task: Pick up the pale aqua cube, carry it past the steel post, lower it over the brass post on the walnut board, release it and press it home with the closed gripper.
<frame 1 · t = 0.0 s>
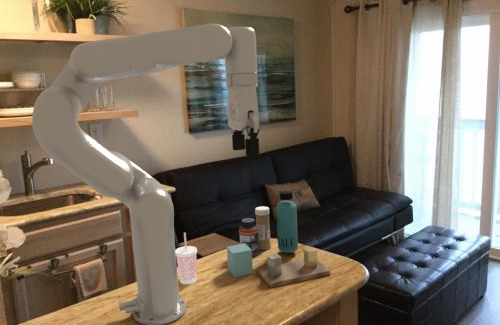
hand: (245, 152, 108), 37 cm above the counter, tool pointing down, fingers open, 9 cm apart
supplement bottle: (249, 254, 140), on the counter
beverage bottle: (288, 253, 139), on the counter
beverage cup: (188, 281, 123), on the counter
post board: (293, 273, 124), on the counter
sprinkles bottle: (263, 248, 145), on the counter
brass post: (310, 269, 126), resting on post board
pale aqua cube: (240, 271, 127), on the counter
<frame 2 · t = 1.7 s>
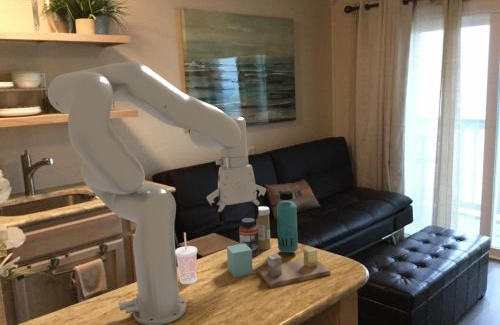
hand: (238, 220, 125), 15 cm above the counter, tool pointing down, fingers open, 9 cm apart
nothing on the counter moved.
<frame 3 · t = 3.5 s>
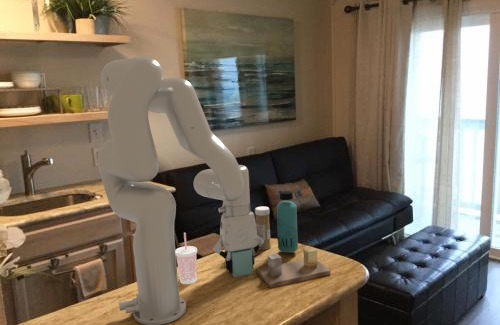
hand: (240, 269, 127), 1 cm above the counter, tool pointing down, fingers closed on pale aqua cube, 5 cm apart
pale aqua cube: (240, 271, 127), on the counter, touching gripper
everything else where it was.
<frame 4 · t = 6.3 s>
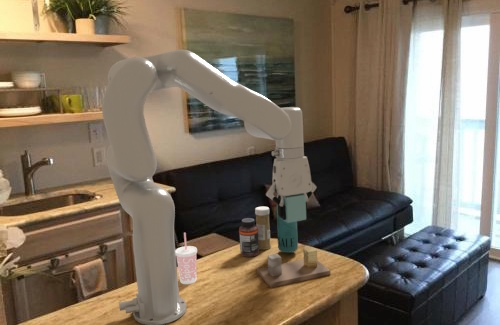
hand: (292, 216, 124), 16 cm above the counter, tool pointing down, fingers closed on pale aqua cube, 5 cm apart
pale aqua cube: (292, 218, 124), point 15 cm above the counter, touching gripper
everything else where it was.
when the fingers open (3 cm above the counter, at t = 9.4 s): pale aqua cube stays where it is, resting on post board.
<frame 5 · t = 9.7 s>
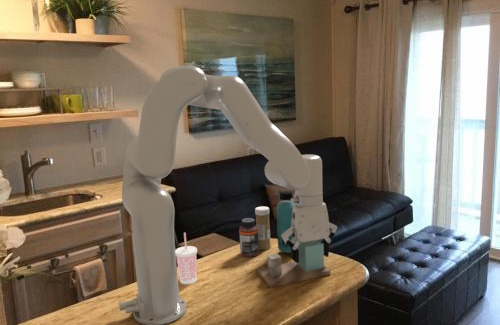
hand: (310, 258, 125), 4 cm above the counter, tool pointing down, fingers open, 9 cm apart
pale aqua cube: (310, 265, 126), point 1 cm above the counter, touching post board
everything else where it was.
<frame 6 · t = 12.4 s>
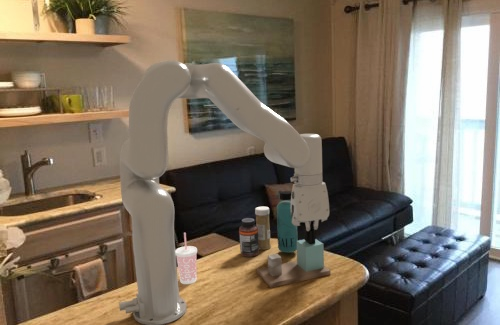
hand: (310, 242, 125), 8 cm above the counter, tool pointing down, fingers closed
pale aqua cube: (310, 265, 126), point 1 cm above the counter, touching gripper, post board
everything else where it was.
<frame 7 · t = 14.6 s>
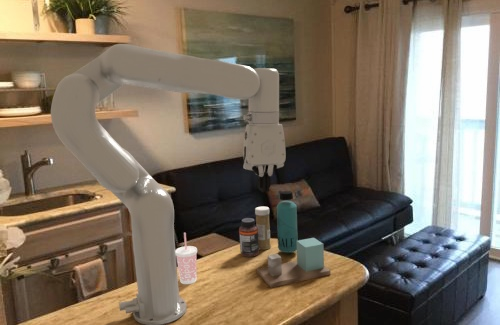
hand: (263, 190, 113), 26 cm above the counter, tool pointing down, fingers closed
pale aqua cube: (310, 265, 126), point 1 cm above the counter, touching post board
everything else where it was.
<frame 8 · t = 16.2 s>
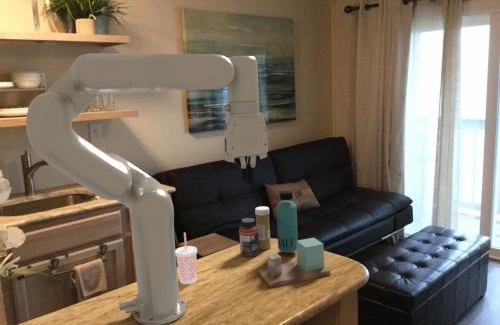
hand: (247, 182, 110), 29 cm above the counter, tool pointing down, fingers closed
nothing on the counter moved.
at the end: pale aqua cube 0.1 cm from the brass post (horizontally); pale aqua cube point 1.2 cm above the counter; pale aqua cube tilted 0° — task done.
